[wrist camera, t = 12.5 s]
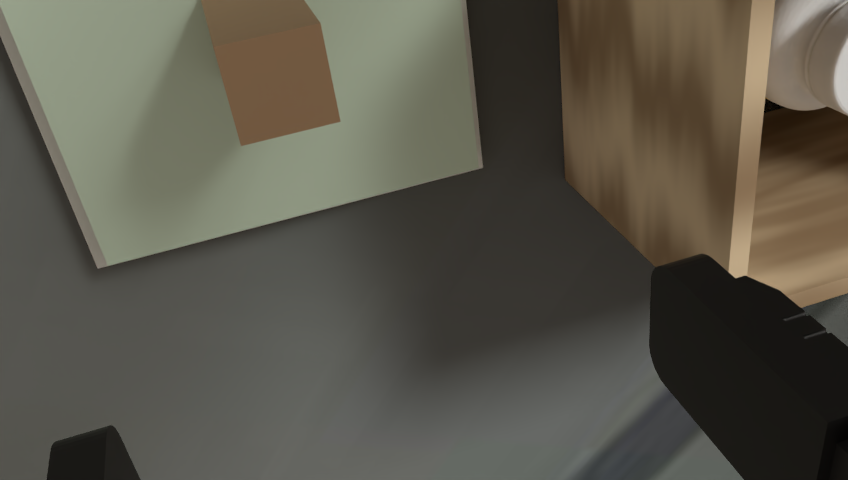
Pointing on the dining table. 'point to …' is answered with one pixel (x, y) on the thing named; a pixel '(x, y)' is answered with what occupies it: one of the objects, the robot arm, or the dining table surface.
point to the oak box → (702, 142)
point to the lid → (243, 107)
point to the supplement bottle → (809, 55)
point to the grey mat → (3, 31)
